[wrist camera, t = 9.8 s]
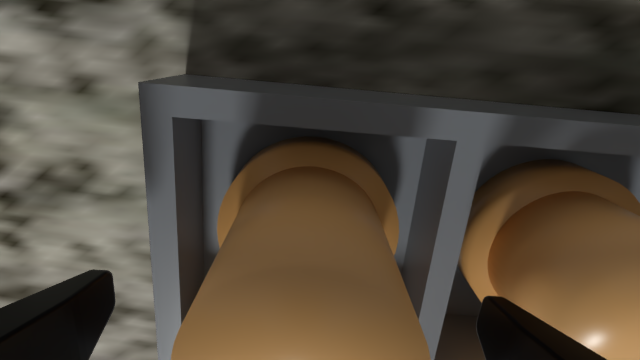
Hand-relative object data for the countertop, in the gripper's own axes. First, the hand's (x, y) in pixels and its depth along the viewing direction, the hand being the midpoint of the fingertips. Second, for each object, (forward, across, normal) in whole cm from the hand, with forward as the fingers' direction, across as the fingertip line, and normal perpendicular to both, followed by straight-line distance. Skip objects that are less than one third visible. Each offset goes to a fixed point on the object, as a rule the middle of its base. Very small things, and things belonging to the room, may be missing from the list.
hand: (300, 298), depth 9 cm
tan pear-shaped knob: (+5, 0, 0) cm, 5 cm away
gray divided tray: (+6, -4, 0) cm, 7 cm away
